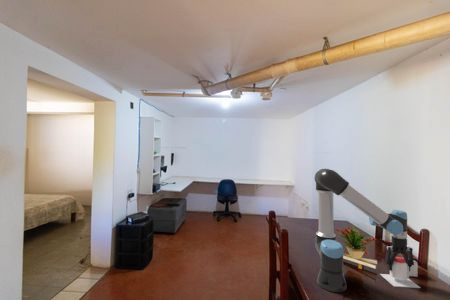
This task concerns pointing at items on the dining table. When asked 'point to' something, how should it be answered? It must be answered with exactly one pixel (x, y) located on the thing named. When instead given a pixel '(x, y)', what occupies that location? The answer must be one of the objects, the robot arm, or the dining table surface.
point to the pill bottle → (400, 269)
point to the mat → (399, 282)
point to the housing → (414, 269)
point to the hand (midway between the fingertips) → (399, 276)
